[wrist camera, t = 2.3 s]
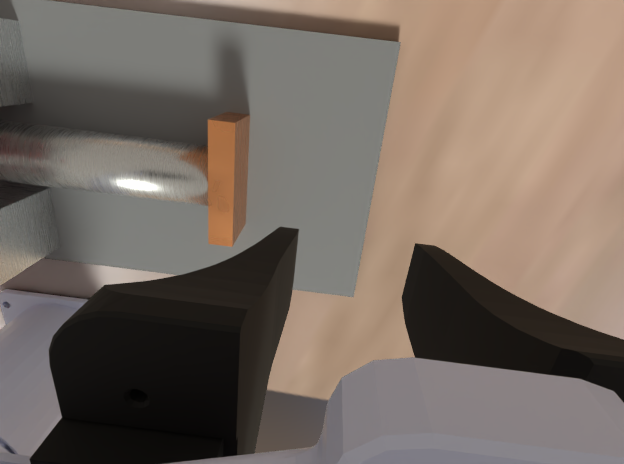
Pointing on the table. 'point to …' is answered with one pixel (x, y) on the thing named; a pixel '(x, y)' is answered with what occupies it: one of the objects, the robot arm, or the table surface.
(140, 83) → the mat
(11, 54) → the hitch block
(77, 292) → the table surface
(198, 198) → the pin
